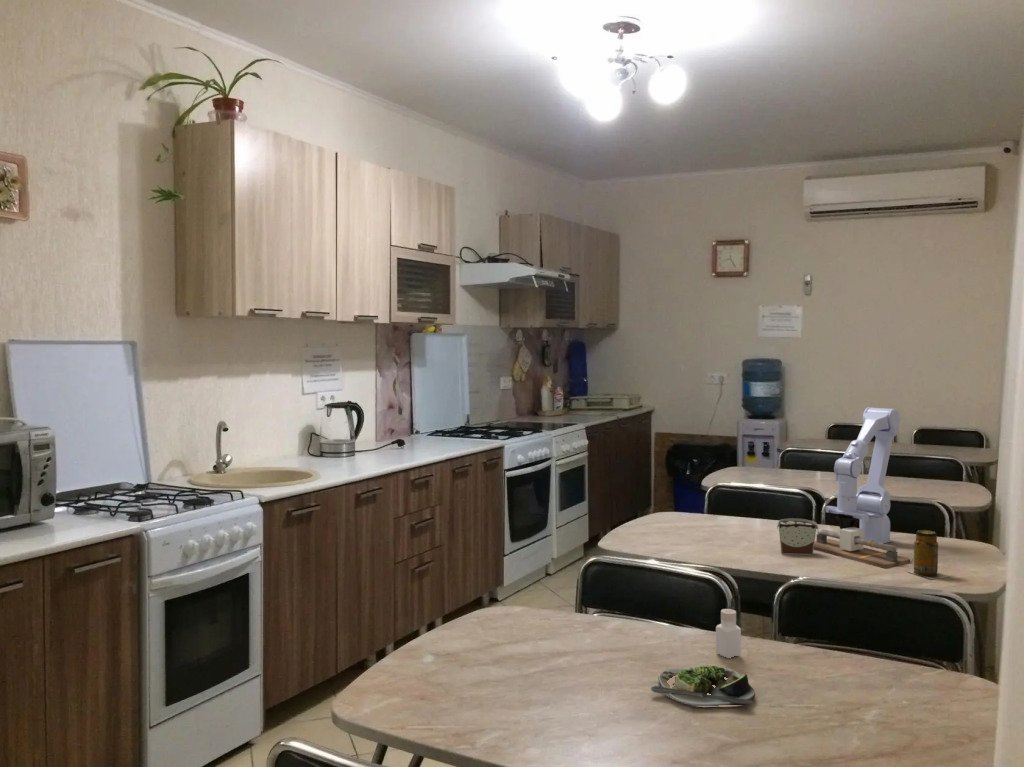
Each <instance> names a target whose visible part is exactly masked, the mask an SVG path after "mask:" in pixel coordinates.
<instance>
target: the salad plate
mask: <svg viewBox="0 0 1024 767" xmlns="http://www.w3.org/2000/svg"><path fill="white" fill-rule="evenodd" d="M673 676H676V677H675V684H674V685H675V686H674V687H672V688H670V685H669V684H668V683H667V681H668V680H669V679H670V678H672V677H673ZM724 677H726V678H728V679H727V680H725V679H724ZM657 679H658V681H659V684H661V685H660V686H659V685H658V686H657V685H655V686H654V685H653V686H651V688H650V690H651V691H652V692H653V693H656V694H659V695H663V696H665V695H666V696H665V697H667V696H668V697H667V698H669V697H671V698H673V699H674V701H675V700H676V702H678V701H679V702H678V703H680V702H681V703H680V704H683V703H685V704H684V705H686V704H688V705H687V706H689V705H692V706H691V707H693V706H719V705H745V706H747V705H751V704H754V703H755V702H754V701H753V700H754V698H755V697H756V691H755V689H754V688H753V687H752V685H750V684H749V683H750V682H749V678H748V675H747V673H743V674H740V673H739V672H738V671H736V670H734V669H732V668H728V667H724V666H719V665H708V664H707V665H702V666H701V665H700V666H697V667H682V668H681V667H680V668H667V669H665V670H663V671H662V672H661V673H659V675H658V676H657ZM712 685H715V686H716V687H715V688H714V687H713V686H712ZM661 686H662V687H661ZM707 693H709V694H711V695H707ZM671 698H670V699H671ZM673 699H672V700H673ZM746 704H747V705H746Z"/></svg>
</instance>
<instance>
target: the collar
mask: <svg viewBox="0 0 1024 767" xmlns="http://www.w3.org/2000/svg"><path fill="white" fill-rule="evenodd" d="M839 533H840V539H839V541H840V549H844V550H848V551H854V550H859V549H863V547H864V545H862V544H858V543H854V537H858V538H862V539H863V538H864V529H860V527H859V528H858V527H855V526H854V527H850V528H844V529H840V528H839Z"/></svg>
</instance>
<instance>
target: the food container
mask: <svg viewBox="0 0 1024 767" xmlns="http://www.w3.org/2000/svg"><path fill="white" fill-rule="evenodd" d="M776 529H778V532H779V533H778V534H779V542H780V554H781V555H799V556H800V555H806V556H808V555H810V556H813V555H814V551H815V550H814V542H815V541H816V540H815V539H816V535H817V534H816V533H817V530H818V529H819V527H818V523H817V522H816V521H813V520H809V519H805V518H782V519H779V520H778V522H777V524H776Z"/></svg>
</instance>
